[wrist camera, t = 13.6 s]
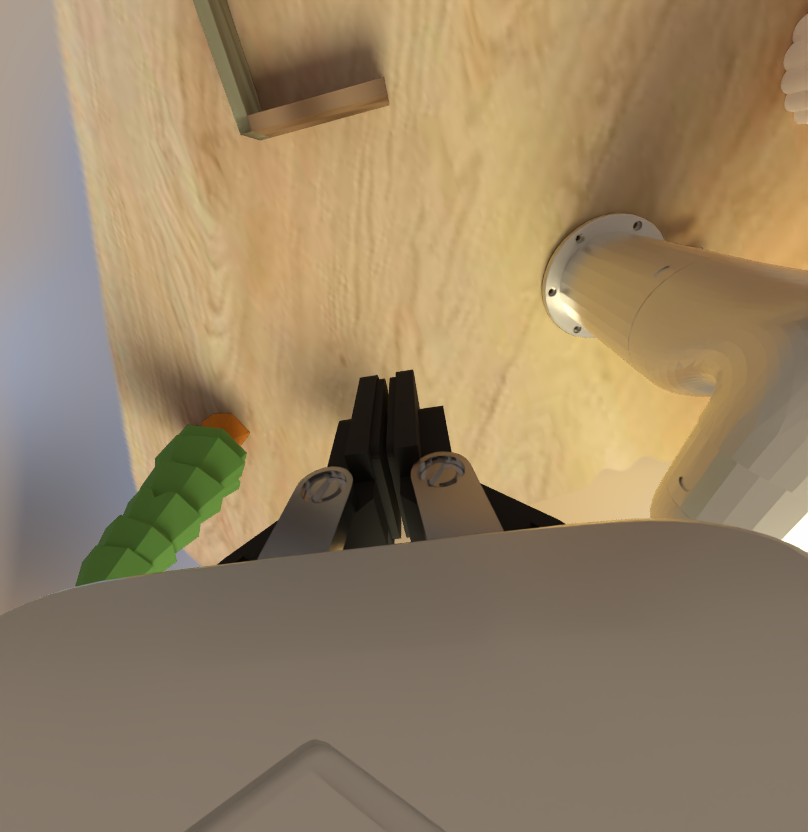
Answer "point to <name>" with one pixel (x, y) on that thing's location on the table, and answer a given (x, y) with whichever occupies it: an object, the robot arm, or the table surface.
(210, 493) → the decorative tree
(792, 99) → the mooncake
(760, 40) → the table surface
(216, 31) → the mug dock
